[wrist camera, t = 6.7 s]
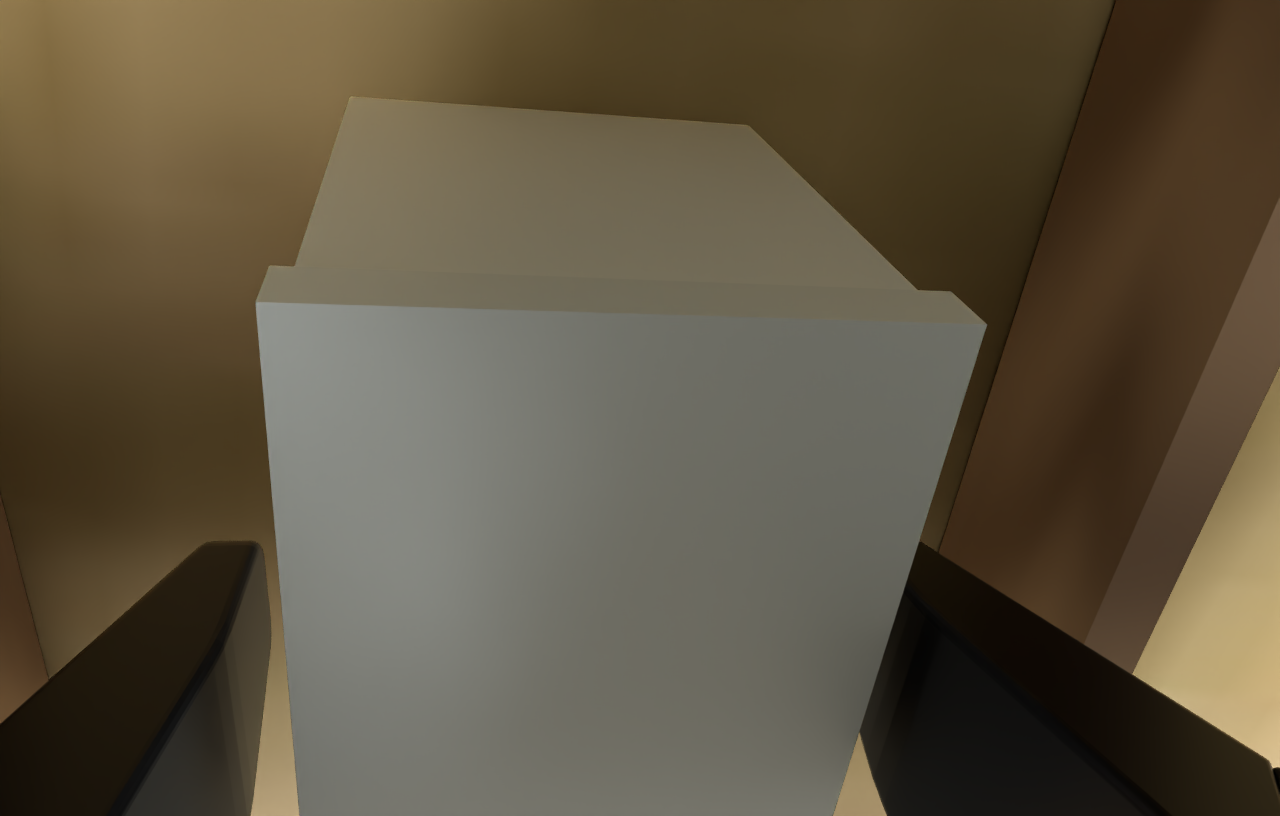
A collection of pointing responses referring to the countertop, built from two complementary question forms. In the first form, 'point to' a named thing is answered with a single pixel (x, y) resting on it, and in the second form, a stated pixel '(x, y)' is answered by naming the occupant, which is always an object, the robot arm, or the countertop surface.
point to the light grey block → (590, 467)
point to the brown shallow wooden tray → (1095, 339)
